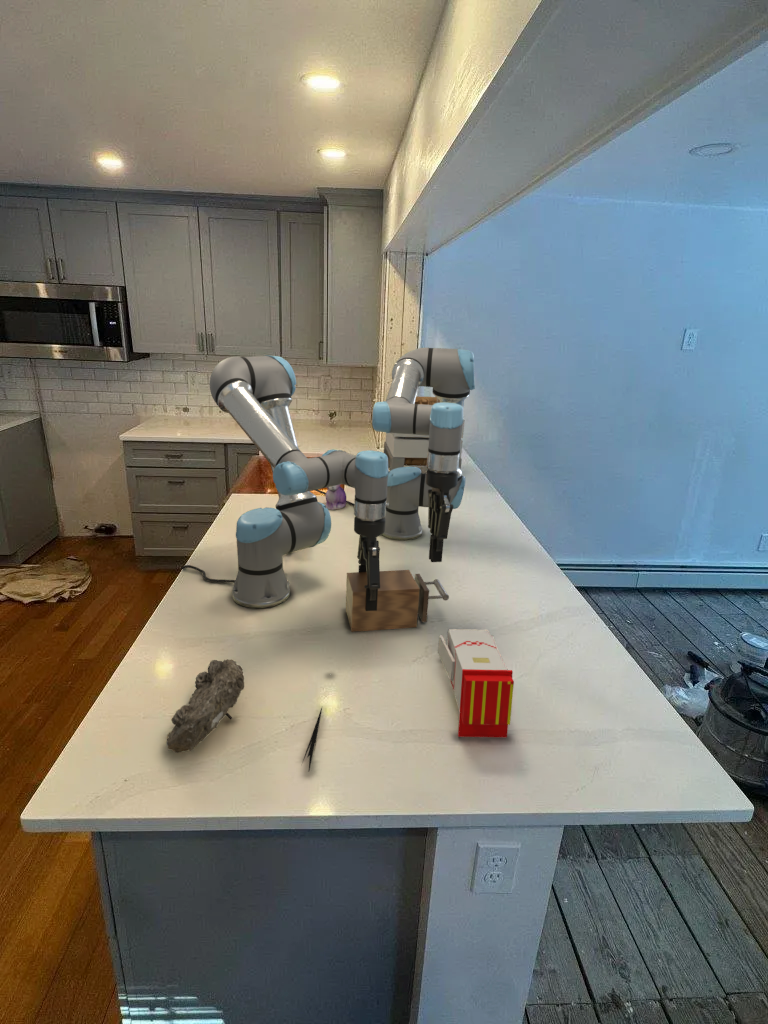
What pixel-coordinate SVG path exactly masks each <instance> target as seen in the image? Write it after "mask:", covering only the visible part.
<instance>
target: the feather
mask: <svg viewBox="0 0 768 1024" xmlns="http://www.w3.org/2000/svg"><path fill="white" fill-rule="evenodd" d="M329 675H330V676H331V675H332V674H331V673H330V674H329ZM322 710H323V707H321V708H320V710H319V713H318V716H317V719H316V723H315V725H314V728H313V731H312V733H311V737H310V739H309V742H308V745H307V748H306V751H305V754H304V757H303V760H302V763H301V767H302V765H303V763H304V761H305V758H308V759H309V760H308V762H307V763H308V764H307V766H308V771H310V770H311V766H312V765H311V764H312V760H313V757H315V756H314V755H315V751H316V749H315V746H317V739H318V733H319V729H320V722H321V717H322V712H323V711H322ZM313 754H314V755H313ZM306 755H307V757H306Z"/></svg>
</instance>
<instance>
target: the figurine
mask: <svg viewBox="0 0 768 1024" xmlns="http://www.w3.org/2000/svg"><path fill="white" fill-rule="evenodd" d="M326 489H327V490H326V492H325V493H326V495H325V501H326V502H325V506H326V508H327V509H328V510H340V509H343V508H345V507H346V505H347V503H346V501H347V493H346V491H345V489H344V488H343V487H342V486H341V484H340V485H336V486H331V487H327V488H326Z"/></svg>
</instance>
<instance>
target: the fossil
mask: <svg viewBox="0 0 768 1024" xmlns="http://www.w3.org/2000/svg"><path fill="white" fill-rule="evenodd" d="M243 670H244V669H243V667H242V665H240V664H237V662H236V661H235V660H234V659H232V658H231V659H227V658H226V659H224V660H223V661H222V660H217V659H212V660H211V661H210V663H209V665H208V666H207V671H201V672H199V673H198V674H197V675H196V676H195V680H194V684H195V685H194V687H195V689H194V690H193V693H192V694H191V697H190V698H189V700H188V704H184V705H182V706H181V707H180V709H177V710H176V711H175V713H174V715H173V716H172V718H171V723H172V724H173V727H172V730H171V731H170V732H168V734H167V738H166V741H167V742H166V745H167V749H168V750H169V751H173V752H174V753H176V754H178V753H182V752H188V751H189V752H192V751H193V750H195V748H196V747H197V746H199V744H200V743H201V742H203V741H204V740H205V739H206V738H207V737H208V736H209V735H210V734H211V733H212V732H214V730H215V729H217V727H218V726H219V724H220V722H221V721H222V720H223V719H224V718H225V716H226V717H227V719H229V720H233V717H232V715H230V714H229V710H230V709H231V708H234V706H235V704H236V703H237V702H238V699H239V697H240V695H241V693H242V691H243V690H245V689H244V688H245V675H244V671H243Z"/></svg>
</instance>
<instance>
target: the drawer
mask: <svg viewBox="0 0 768 1024" xmlns="http://www.w3.org/2000/svg"><path fill="white" fill-rule="evenodd" d="M414 580H415V581H416V583H417V585H418V587H419V602H418V617H419V619H420V621H421V623H427V622H428V612H429V611H428V610H429V600H439V599H440V600H441V599H442V600H443V601H448V600H449V599H450V595H449V594H448V592H447V591H446V589H445V588H444V586H443V584H442V583H441V581H440V580H439V579H438V578H435V579H434V580H432V581H424V579H423V577H422V575H421V573H415V574H414ZM427 585H434V587H435V589H436V590H437V592H438V594H439V595H430V589H429V587H428V586H427Z"/></svg>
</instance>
